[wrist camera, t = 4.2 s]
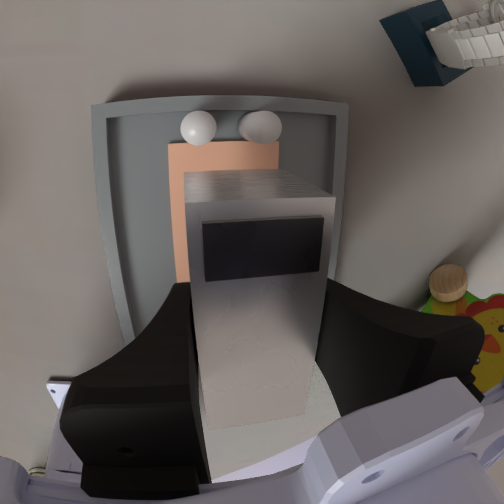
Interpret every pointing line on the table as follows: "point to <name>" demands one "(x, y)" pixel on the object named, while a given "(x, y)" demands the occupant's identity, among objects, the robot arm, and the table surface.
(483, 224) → the table surface
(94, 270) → the table surface
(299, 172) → the tray
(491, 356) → the toy lion
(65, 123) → the table surface
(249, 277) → the drive
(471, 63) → the watch
